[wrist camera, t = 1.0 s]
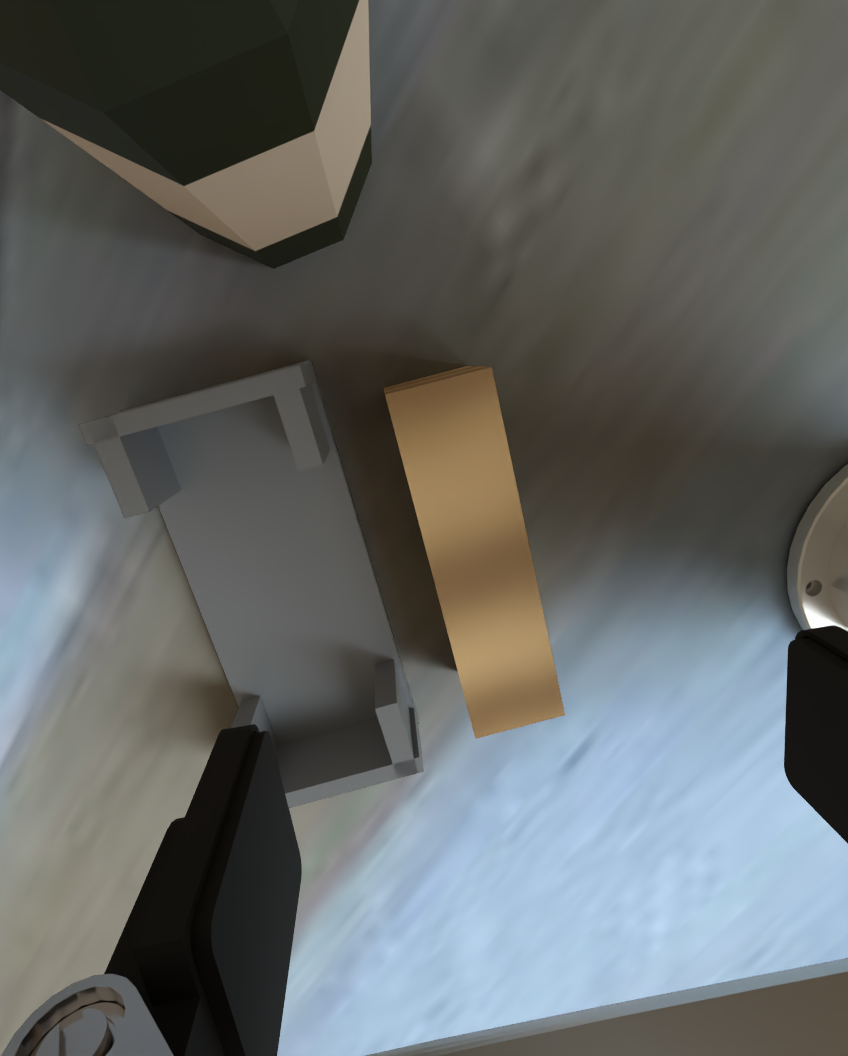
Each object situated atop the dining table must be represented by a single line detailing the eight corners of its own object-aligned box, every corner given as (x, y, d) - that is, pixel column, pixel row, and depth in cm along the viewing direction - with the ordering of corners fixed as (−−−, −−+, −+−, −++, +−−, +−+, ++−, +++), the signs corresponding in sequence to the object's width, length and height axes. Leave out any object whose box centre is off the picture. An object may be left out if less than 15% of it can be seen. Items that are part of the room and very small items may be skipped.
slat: (383, 387, 27) (384, 394, 22) (467, 365, 27) (491, 366, 22) (457, 669, 32) (475, 738, 26) (530, 650, 32) (564, 715, 26)
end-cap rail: (125, 409, 27) (76, 419, 22) (310, 360, 27) (297, 359, 22) (264, 759, 32) (246, 823, 27) (418, 717, 32) (424, 775, 28)
